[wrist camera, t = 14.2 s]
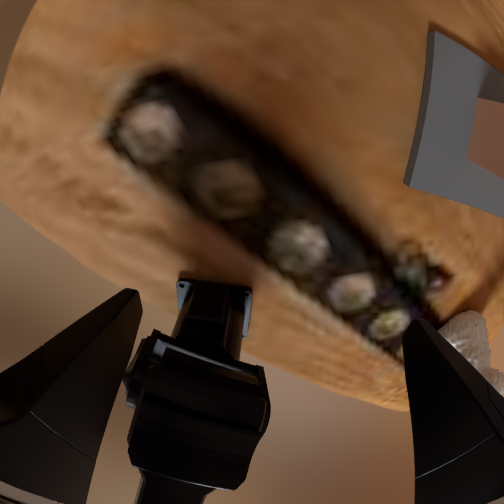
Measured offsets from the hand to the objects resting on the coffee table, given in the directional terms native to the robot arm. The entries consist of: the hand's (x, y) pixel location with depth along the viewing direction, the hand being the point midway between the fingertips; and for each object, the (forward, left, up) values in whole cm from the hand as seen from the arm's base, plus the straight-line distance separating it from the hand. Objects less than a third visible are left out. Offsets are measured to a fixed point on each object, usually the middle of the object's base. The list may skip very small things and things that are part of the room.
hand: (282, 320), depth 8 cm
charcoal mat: (+8, -16, -12) cm, 22 cm away
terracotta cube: (+8, -16, -11) cm, 21 cm away
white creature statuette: (-13, -24, -12) cm, 30 cm away
